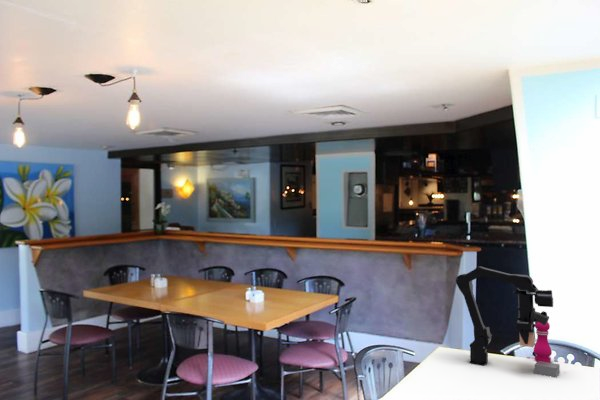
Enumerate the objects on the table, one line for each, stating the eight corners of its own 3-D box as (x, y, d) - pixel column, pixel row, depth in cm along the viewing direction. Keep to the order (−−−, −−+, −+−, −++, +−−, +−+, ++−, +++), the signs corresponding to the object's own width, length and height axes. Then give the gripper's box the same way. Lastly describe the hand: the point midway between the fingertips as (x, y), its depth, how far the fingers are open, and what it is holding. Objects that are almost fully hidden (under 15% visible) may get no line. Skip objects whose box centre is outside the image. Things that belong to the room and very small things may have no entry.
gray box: (534, 374, 193) (534, 364, 194) (538, 370, 199) (538, 360, 199) (556, 378, 189) (556, 368, 189) (559, 374, 194) (559, 364, 194)
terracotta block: (519, 345, 198) (519, 333, 198) (521, 343, 202) (521, 331, 202) (532, 347, 195) (532, 334, 195) (534, 344, 199) (534, 332, 200)
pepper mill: (555, 363, 208) (554, 318, 209) (538, 363, 208) (537, 317, 209) (546, 359, 215) (546, 314, 216) (530, 358, 215) (530, 314, 216)
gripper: (544, 310, 187) (545, 350, 186) (550, 303, 203) (551, 340, 202) (513, 307, 194) (515, 346, 193) (521, 301, 209) (523, 337, 208)
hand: (527, 342), depth 199 cm, fingers closed on terracotta block, 5 cm apart
